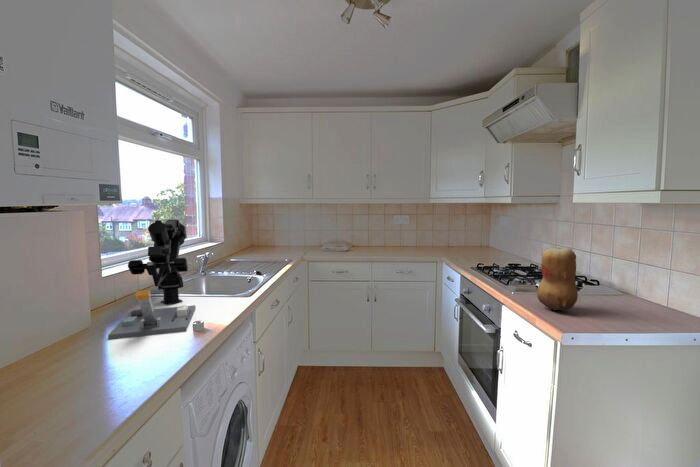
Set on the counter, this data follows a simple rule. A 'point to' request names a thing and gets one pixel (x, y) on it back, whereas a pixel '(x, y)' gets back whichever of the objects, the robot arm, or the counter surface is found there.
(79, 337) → the counter surface
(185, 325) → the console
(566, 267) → the butternut squash
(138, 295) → the lever
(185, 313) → the slider
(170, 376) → the counter surface
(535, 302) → the counter surface
